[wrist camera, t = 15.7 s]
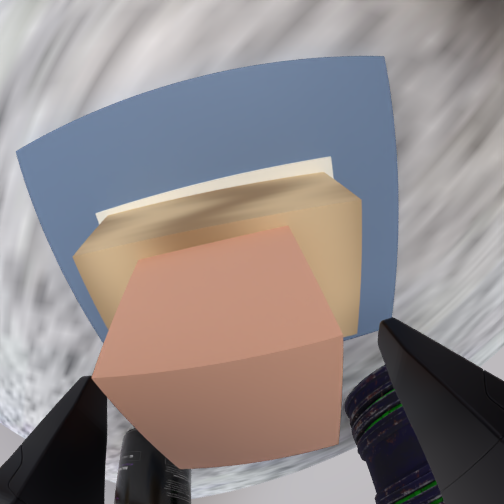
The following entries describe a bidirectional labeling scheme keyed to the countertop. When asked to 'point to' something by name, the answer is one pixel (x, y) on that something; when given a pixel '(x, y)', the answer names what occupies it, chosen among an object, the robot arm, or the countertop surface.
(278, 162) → the board
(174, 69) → the countertop surface
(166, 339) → the terracotta cube
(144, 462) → the supplement bottle
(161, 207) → the oak brick
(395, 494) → the storage jar
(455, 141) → the countertop surface
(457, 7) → the countertop surface
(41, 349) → the countertop surface
